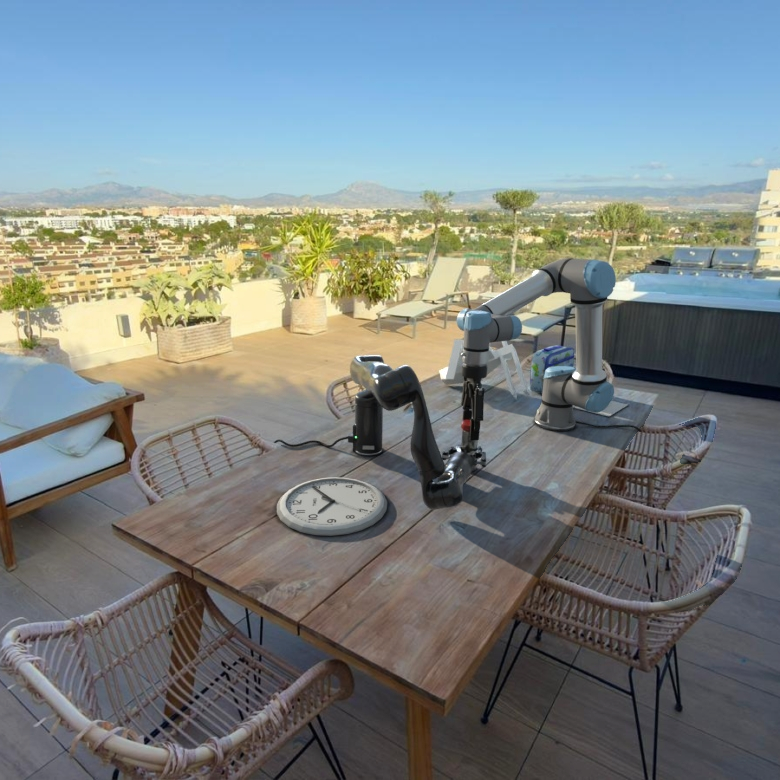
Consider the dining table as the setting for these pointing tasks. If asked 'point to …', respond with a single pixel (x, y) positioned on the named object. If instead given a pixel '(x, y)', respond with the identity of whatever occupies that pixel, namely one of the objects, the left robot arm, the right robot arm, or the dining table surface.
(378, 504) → the wall clock
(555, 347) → the lunch box
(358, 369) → the left robot arm
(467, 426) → the lid
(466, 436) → the bottle
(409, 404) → the fork
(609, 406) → the invitation card
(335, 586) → the dining table surface
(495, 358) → the white plastic object
